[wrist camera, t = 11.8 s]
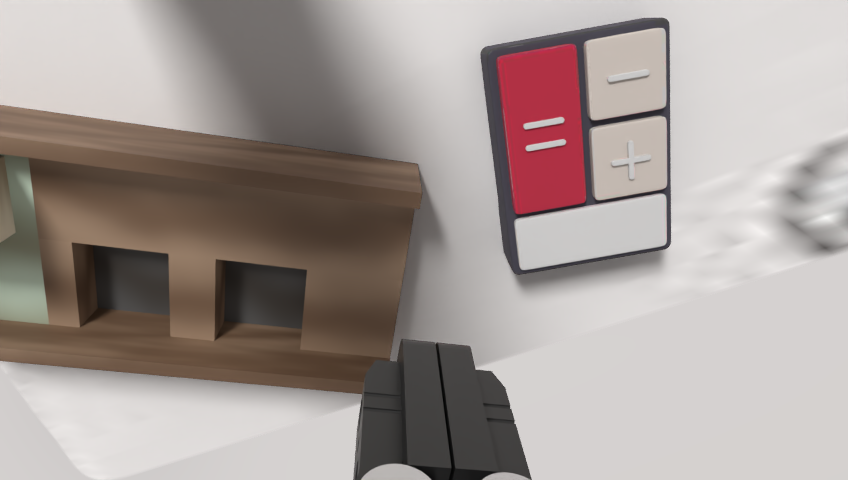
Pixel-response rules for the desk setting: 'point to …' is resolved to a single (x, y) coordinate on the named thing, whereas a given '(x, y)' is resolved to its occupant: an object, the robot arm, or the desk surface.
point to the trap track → (199, 253)
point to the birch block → (5, 205)
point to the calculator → (581, 143)
